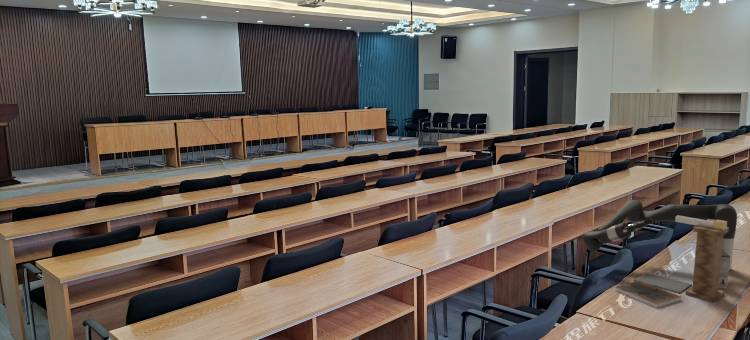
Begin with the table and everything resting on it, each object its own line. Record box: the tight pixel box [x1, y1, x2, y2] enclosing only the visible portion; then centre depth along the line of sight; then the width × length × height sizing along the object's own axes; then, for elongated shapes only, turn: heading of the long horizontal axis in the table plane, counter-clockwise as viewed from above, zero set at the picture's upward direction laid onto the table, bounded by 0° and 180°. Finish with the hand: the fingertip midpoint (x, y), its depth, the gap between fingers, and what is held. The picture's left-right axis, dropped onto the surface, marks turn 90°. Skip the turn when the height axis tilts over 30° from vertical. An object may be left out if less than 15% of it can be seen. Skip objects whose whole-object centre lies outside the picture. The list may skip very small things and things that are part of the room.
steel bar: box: [675, 215, 727, 231], centre depth 244 cm, size 20×4×4 cm, turn 41°
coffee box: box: [718, 250, 730, 289], centre depth 256 cm, size 9×6×16 cm
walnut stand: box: [685, 225, 729, 303], centre depth 244 cm, size 12×12×32 cm
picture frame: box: [614, 280, 682, 309], centre depth 248 cm, size 16×2×22 cm
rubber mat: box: [633, 272, 693, 294], centre depth 261 cm, size 21×14×1 cm, turn 41°
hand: (648, 222), depth 262 cm, fingers open, 8 cm apart
